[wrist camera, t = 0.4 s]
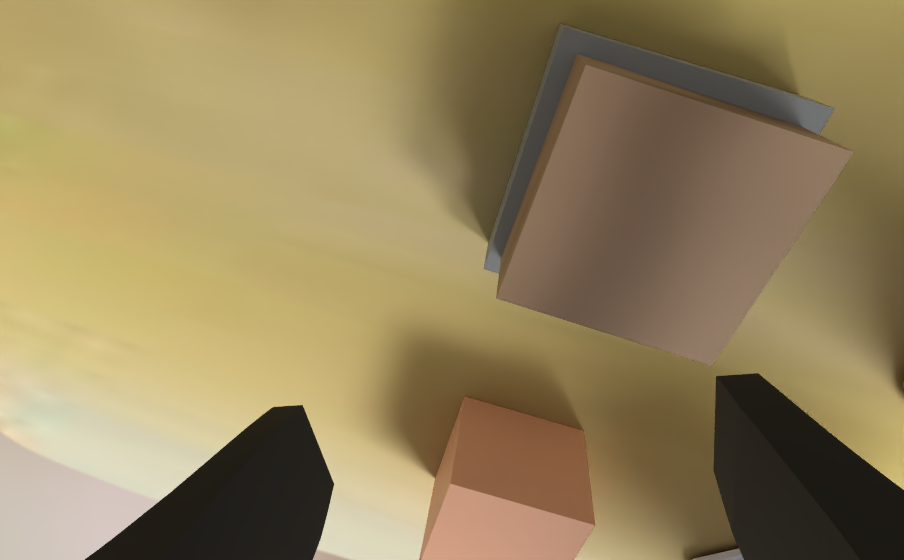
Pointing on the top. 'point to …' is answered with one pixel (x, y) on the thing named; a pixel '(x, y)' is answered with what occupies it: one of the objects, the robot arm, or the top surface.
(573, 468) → the block
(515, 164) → the tower base
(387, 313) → the top surface
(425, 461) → the top surface
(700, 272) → the tower top
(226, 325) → the top surface
